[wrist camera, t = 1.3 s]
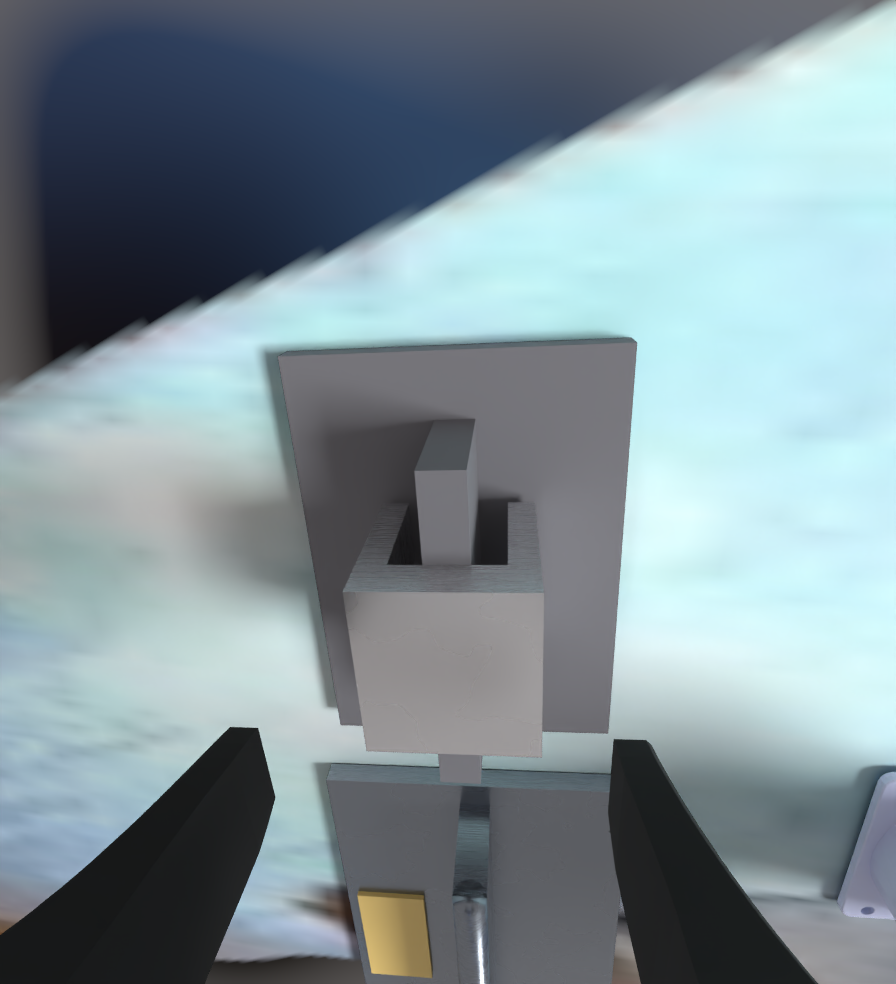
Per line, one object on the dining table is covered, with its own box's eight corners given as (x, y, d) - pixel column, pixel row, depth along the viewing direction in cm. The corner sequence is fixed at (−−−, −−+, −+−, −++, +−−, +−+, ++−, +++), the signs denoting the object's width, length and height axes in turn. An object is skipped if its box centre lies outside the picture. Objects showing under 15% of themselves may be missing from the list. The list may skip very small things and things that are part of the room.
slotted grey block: (535, 502, 17) (544, 593, 13) (534, 639, 19) (541, 757, 15) (382, 503, 18) (342, 591, 13) (397, 637, 20) (366, 751, 15)
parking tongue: (631, 337, 16) (676, 376, 12) (604, 716, 22) (628, 837, 18) (287, 351, 17) (212, 390, 13) (346, 709, 23) (307, 820, 19)
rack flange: (626, 775, 23) (655, 908, 18) (601, 1044, 31) (616, 1183, 26) (331, 763, 24) (290, 885, 20) (380, 1025, 32) (359, 1154, 28)
